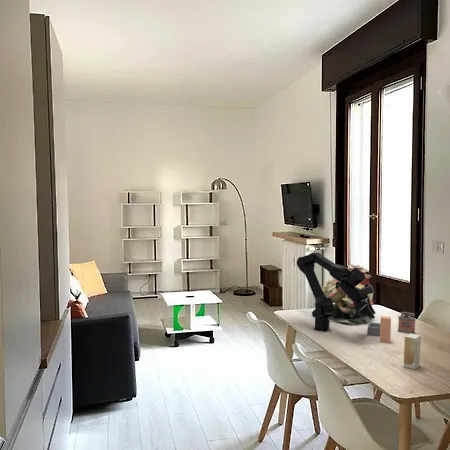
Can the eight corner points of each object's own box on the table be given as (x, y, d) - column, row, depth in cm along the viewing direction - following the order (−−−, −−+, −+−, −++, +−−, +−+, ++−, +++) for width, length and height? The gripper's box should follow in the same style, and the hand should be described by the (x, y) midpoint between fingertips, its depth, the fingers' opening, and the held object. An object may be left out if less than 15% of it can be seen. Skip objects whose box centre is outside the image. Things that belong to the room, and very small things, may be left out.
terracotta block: (379, 341, 226) (380, 318, 226) (379, 339, 230) (380, 315, 230) (390, 342, 225) (390, 318, 224) (389, 340, 229) (390, 316, 228)
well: (367, 335, 237) (367, 327, 236) (368, 330, 246) (368, 322, 246) (389, 337, 234) (389, 329, 233) (389, 332, 243) (389, 324, 243)
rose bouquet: (313, 316, 273) (315, 262, 271) (355, 312, 285) (357, 260, 284) (343, 328, 250) (345, 268, 248) (388, 322, 262) (390, 266, 260)
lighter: (397, 332, 244) (398, 311, 243) (398, 330, 247) (399, 310, 246) (414, 334, 240) (415, 314, 240) (415, 332, 243) (416, 312, 243)
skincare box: (408, 363, 197) (410, 332, 196) (420, 365, 194) (421, 334, 194) (402, 367, 192) (404, 336, 191) (414, 369, 189) (415, 338, 189)
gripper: (362, 282, 220) (388, 308, 217) (364, 276, 238) (388, 300, 235) (344, 298, 223) (368, 324, 220) (347, 291, 241) (370, 315, 238)
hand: (374, 315), depth 228 cm, fingers open, 9 cm apart
